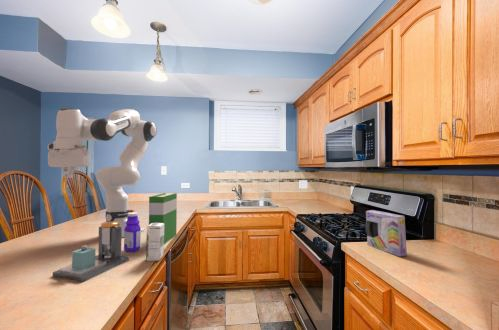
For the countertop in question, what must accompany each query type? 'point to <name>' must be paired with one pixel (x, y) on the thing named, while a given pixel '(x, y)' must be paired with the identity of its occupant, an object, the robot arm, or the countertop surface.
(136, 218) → the bottle
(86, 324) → the countertop surface
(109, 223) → the press ram
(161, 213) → the green striped box
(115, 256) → the base
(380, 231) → the cake pan box
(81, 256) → the block
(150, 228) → the syrup box
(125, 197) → the robot arm
